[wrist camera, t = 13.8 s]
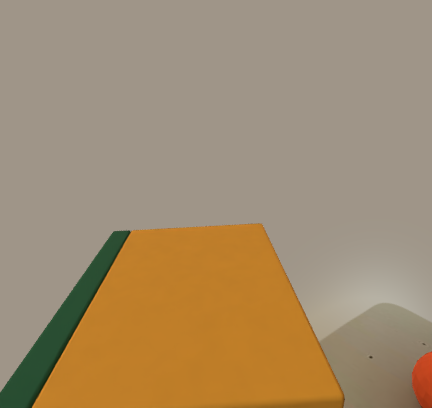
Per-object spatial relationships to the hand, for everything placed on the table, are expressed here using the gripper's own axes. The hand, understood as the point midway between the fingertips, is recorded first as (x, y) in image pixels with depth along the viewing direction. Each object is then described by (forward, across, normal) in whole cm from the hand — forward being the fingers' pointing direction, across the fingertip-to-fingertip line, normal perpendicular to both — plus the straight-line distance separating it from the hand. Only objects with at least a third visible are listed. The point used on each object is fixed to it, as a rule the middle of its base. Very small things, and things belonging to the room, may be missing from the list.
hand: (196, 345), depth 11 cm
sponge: (-3, 0, +6) cm, 7 cm away
